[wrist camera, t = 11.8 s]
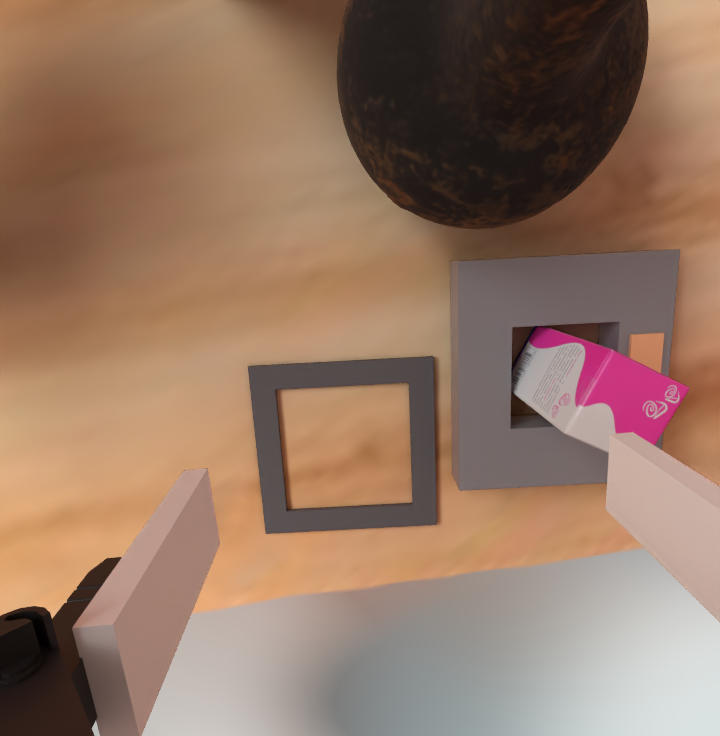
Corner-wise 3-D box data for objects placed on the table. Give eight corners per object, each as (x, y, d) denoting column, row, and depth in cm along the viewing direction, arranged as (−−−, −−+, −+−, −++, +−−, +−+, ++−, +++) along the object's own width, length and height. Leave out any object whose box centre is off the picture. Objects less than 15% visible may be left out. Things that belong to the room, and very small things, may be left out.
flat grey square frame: (249, 366, 39) (248, 367, 39) (432, 356, 39) (433, 357, 39) (266, 531, 43) (265, 533, 42) (435, 522, 43) (436, 524, 42)
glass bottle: (562, -68, 33) (1582, -1673, 6) (600, 199, 37) (1308, 26, 9) (311, 5, 34) (121, -1077, 6) (373, 259, 38) (421, 260, 10)
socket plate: (449, 261, 38) (458, 261, 34) (654, 250, 38) (683, 249, 34) (452, 474, 42) (460, 492, 38) (637, 464, 42) (661, 481, 38)
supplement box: (562, 413, 40) (641, 472, 29) (501, 384, 40) (557, 433, 29) (598, 351, 39) (694, 388, 28) (535, 321, 39) (608, 346, 28)
